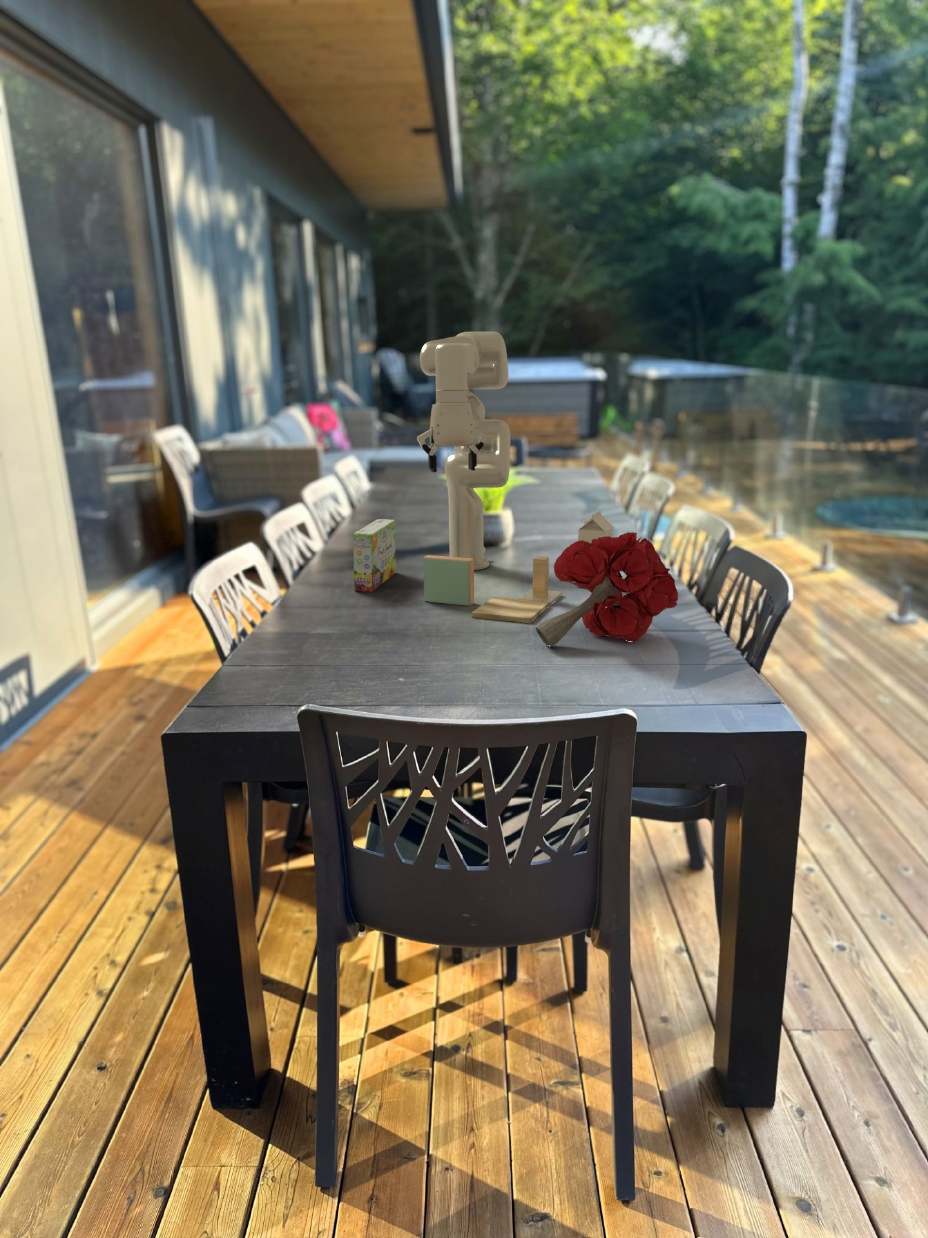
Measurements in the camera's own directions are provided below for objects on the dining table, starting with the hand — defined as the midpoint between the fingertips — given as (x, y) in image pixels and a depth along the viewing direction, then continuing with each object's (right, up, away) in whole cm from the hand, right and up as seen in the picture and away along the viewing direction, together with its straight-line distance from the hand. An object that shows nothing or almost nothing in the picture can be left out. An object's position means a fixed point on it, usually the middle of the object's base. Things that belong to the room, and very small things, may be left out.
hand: (452, 470), depth 219 cm
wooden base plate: (+14, -34, -9) cm, 38 cm away
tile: (-1, -32, 0) cm, 32 cm away
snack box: (-20, -26, +20) cm, 39 cm away
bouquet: (+32, -40, -30) cm, 59 cm away
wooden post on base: (+21, -31, +2) cm, 38 cm away
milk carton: (+36, -28, +13) cm, 47 cm away
